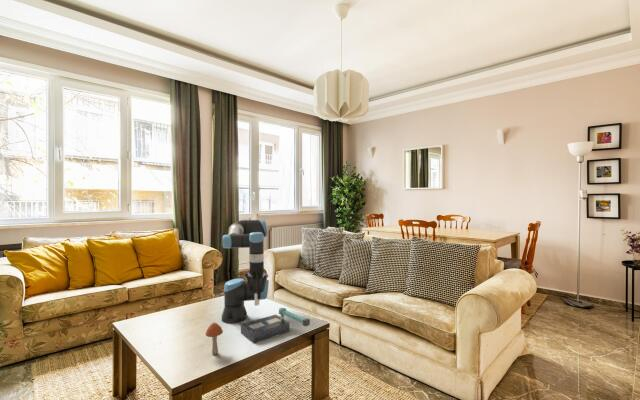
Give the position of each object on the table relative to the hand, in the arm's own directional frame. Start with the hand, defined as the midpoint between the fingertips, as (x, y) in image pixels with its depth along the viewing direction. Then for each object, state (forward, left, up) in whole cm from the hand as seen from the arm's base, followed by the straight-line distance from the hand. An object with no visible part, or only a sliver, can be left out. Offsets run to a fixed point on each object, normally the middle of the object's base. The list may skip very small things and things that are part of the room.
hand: (256, 304), depth 175 cm
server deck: (0, +5, -16) cm, 17 cm away
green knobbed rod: (+10, +17, -9) cm, 21 cm away
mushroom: (+5, -25, -17) cm, 31 cm away
